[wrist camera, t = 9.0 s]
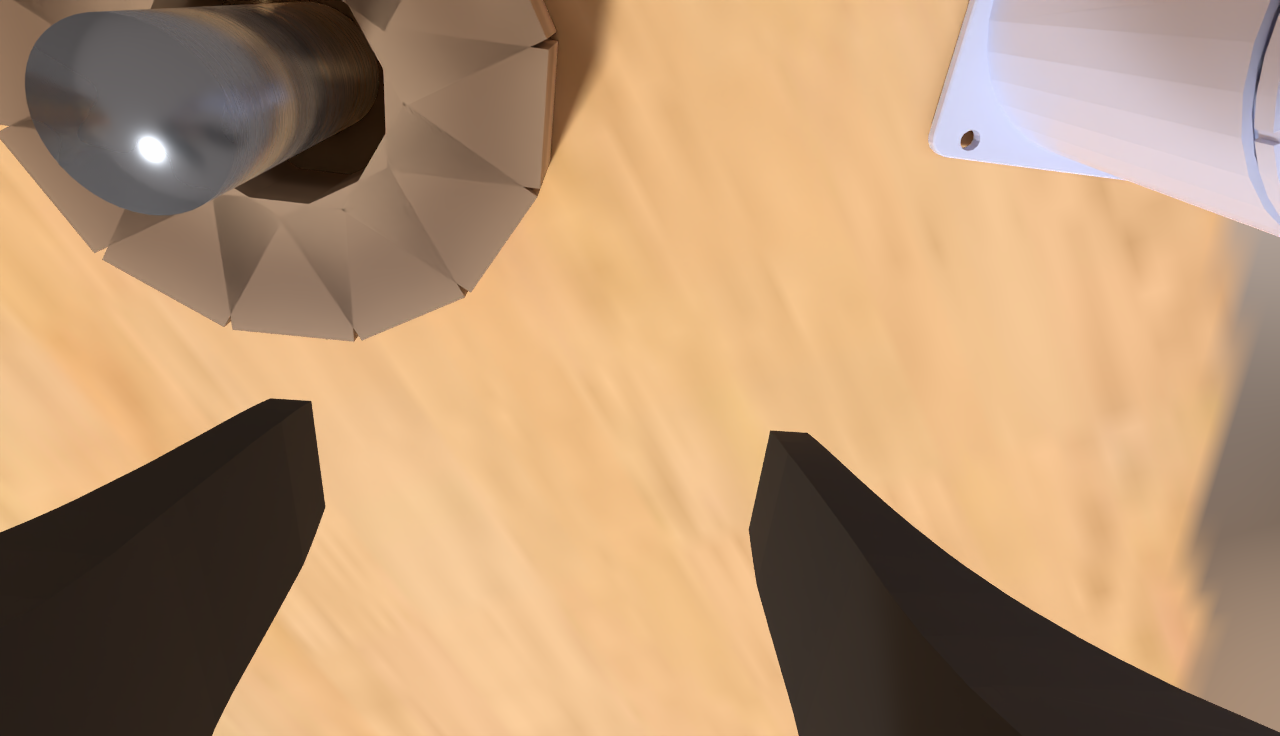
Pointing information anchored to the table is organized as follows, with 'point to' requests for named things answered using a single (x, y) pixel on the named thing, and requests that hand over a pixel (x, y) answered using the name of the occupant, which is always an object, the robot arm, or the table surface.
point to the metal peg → (194, 96)
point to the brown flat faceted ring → (339, 177)
